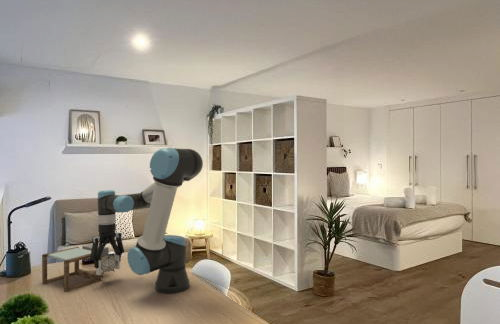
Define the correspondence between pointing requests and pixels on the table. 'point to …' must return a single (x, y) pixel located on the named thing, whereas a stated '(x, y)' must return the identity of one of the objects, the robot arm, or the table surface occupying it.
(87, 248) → the chair seat
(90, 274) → the frame
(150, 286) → the table surface
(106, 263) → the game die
